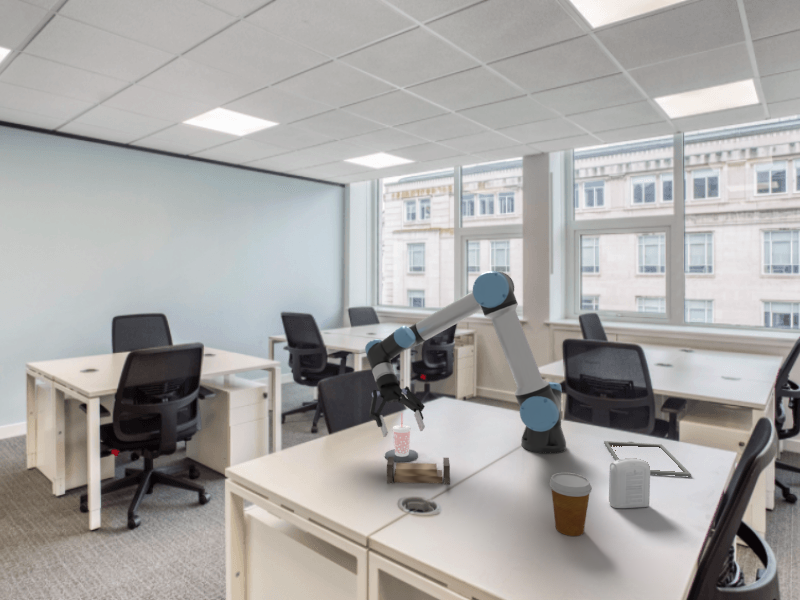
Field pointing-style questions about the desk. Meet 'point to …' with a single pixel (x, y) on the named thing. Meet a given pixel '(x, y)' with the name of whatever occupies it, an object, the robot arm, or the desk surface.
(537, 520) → the desk surface
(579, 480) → the disposable coffee cup
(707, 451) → the desk surface
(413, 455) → the mat
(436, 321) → the robot arm
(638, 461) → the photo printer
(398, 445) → the beverage cup
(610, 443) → the grey rectangular frame
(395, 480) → the offcut rack
